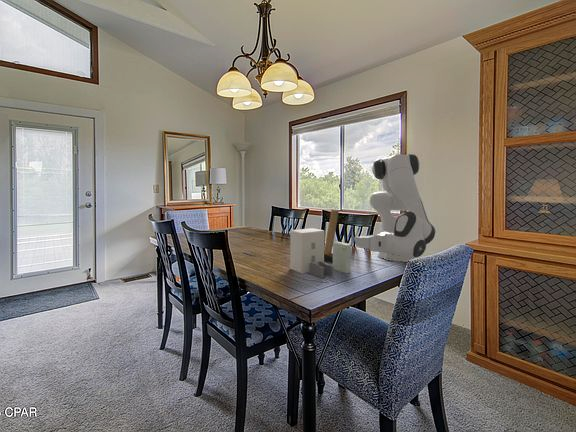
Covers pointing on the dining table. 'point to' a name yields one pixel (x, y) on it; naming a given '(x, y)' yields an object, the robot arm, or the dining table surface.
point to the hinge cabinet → (308, 252)
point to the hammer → (330, 236)
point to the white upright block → (342, 257)
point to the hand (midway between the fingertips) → (362, 237)
